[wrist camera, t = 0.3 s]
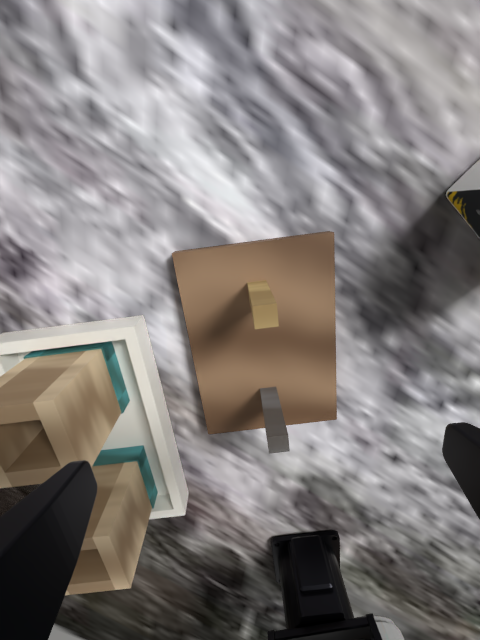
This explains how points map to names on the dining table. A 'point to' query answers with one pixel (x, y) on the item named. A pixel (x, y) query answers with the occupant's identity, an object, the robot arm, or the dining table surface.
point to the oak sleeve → (58, 410)
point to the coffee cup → (388, 629)
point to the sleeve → (115, 521)
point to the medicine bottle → (468, 197)
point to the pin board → (262, 332)
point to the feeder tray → (143, 390)
